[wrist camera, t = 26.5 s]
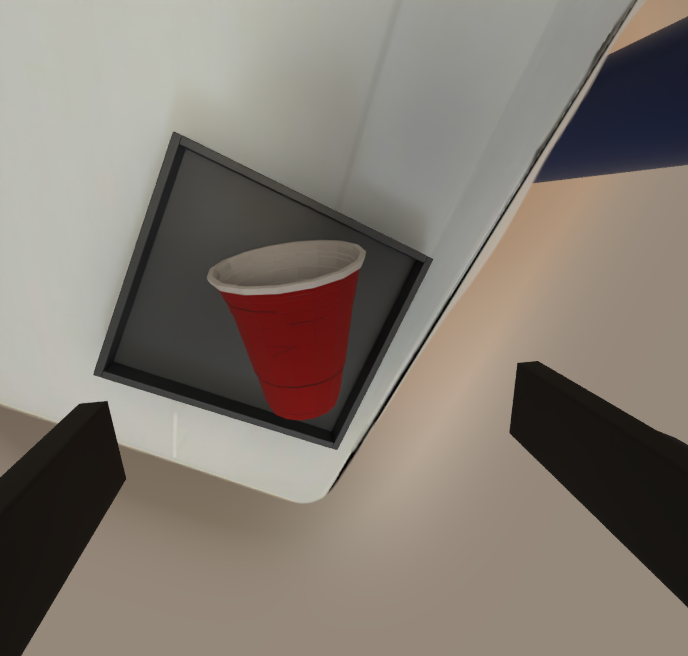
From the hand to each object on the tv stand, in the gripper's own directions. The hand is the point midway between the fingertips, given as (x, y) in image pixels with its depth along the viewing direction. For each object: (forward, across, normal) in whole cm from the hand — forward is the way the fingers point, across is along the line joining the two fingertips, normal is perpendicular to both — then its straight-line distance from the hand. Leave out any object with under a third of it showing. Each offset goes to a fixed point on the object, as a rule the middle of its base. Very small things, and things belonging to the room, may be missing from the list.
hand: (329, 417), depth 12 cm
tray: (+21, -3, -1) cm, 22 cm away
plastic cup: (+17, -1, -8) cm, 19 cm away
